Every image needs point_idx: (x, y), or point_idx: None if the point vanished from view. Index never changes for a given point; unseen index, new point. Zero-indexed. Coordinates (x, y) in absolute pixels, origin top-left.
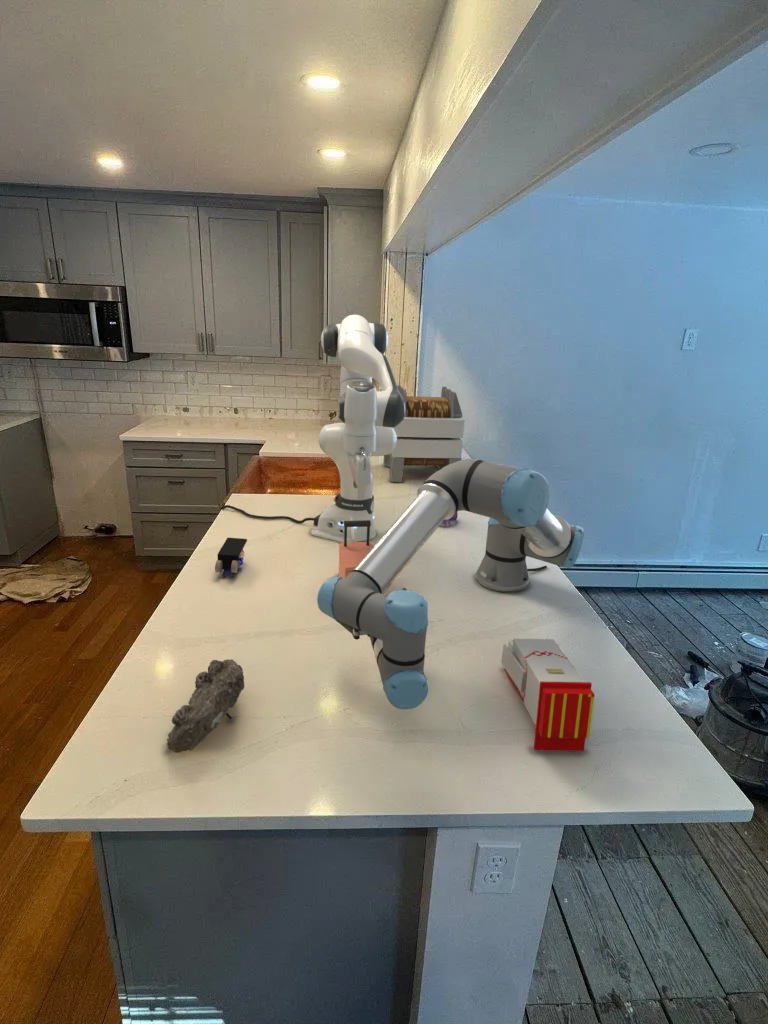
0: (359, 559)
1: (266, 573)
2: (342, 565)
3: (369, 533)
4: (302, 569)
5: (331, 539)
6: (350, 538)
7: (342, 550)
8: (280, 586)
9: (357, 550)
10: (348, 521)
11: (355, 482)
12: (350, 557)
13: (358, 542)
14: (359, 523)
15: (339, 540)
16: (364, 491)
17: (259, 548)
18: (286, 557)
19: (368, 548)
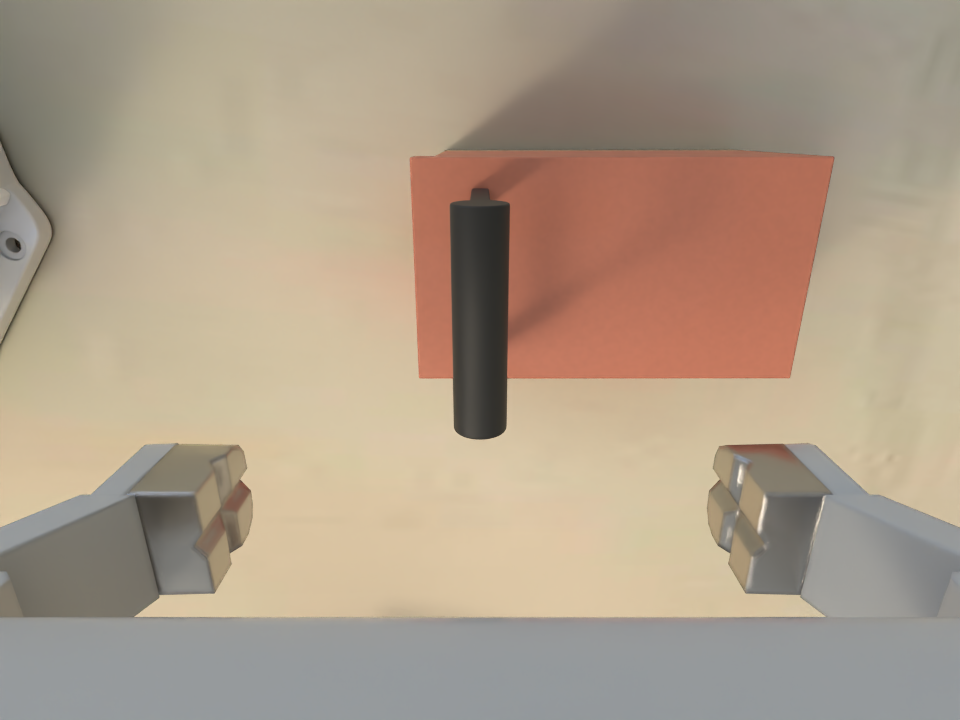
0: (699, 285)
1: (413, 584)
2: None
3: (489, 199)
4: (380, 461)
5: (13, 314)
6: (2, 212)
7: (547, 370)
8: (530, 540)
9: (559, 279)
10: (488, 406)
11: (211, 563)
12: (658, 335)
13: (425, 255)
14: (506, 310)
15: (28, 274)
16: (912, 516)
17: (172, 611)
18: (257, 518)
19: (534, 200)
